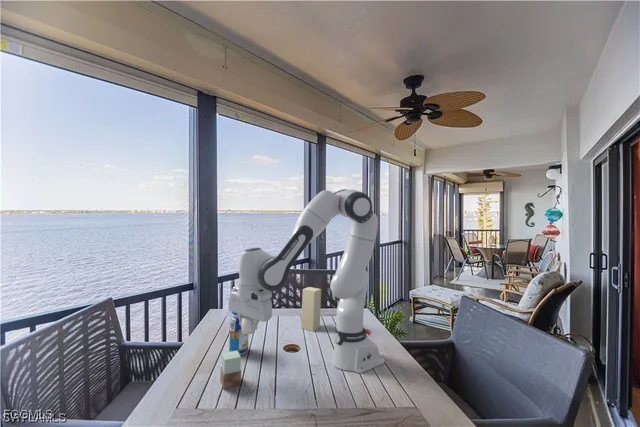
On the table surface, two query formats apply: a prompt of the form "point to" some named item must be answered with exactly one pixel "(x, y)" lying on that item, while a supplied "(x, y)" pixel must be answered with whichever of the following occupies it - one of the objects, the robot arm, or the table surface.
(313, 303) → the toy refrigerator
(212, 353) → the table surface
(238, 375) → the tower base
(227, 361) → the tower top
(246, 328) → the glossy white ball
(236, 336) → the beverage bottle
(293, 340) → the table surface
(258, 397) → the table surface
